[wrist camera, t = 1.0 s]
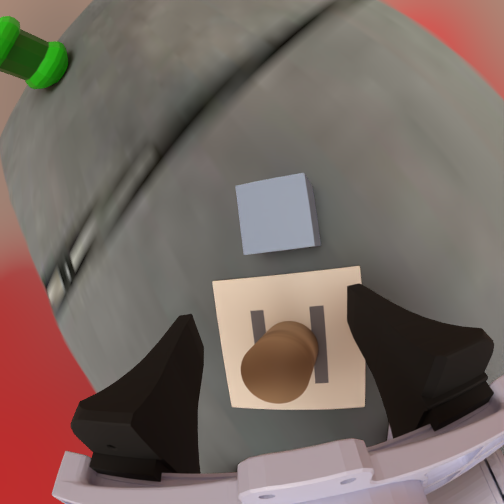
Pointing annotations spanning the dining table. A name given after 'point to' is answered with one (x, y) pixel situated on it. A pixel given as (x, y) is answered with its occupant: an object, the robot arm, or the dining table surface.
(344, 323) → the letter board
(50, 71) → the plastic bottle
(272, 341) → the walnut cylinder
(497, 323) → the dining table surface
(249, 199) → the slate cube
